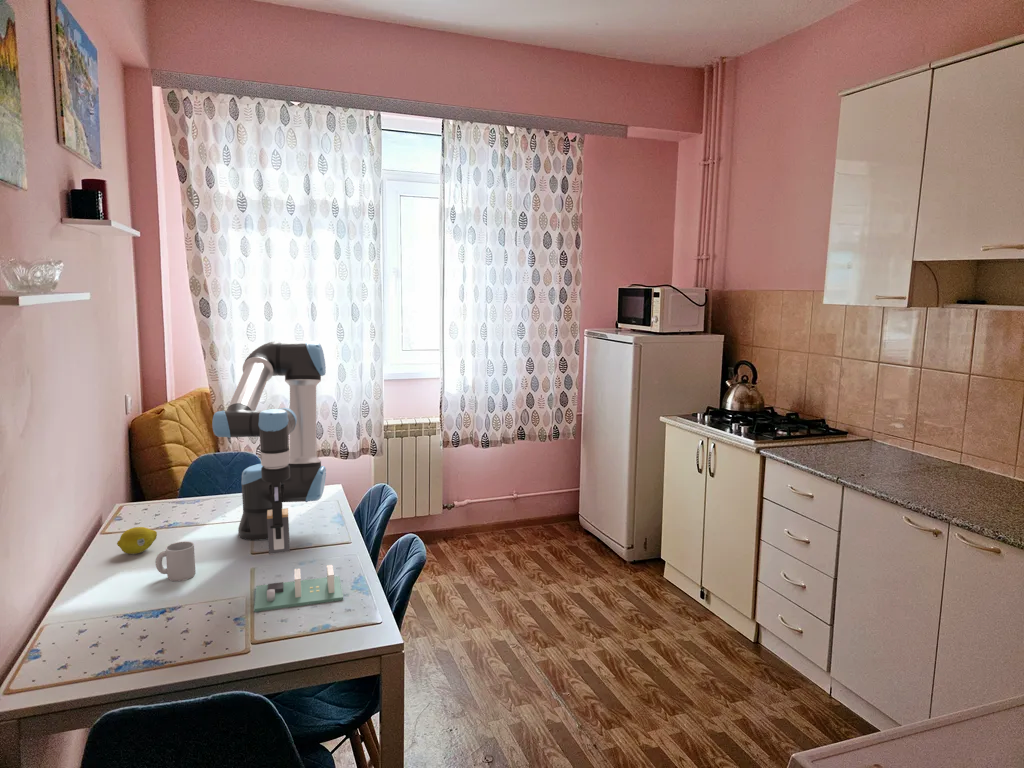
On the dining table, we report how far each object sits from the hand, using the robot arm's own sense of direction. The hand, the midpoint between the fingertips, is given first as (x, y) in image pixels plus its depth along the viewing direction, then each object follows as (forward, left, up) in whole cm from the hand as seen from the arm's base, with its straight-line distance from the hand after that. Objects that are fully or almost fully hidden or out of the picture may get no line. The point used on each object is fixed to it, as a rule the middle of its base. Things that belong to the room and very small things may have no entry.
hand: (279, 544), depth 187 cm
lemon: (-32, -42, -10) cm, 54 cm away
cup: (-9, -28, -10) cm, 31 cm away
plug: (0, 0, -1) cm, 1 cm away
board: (+13, +5, -10) cm, 17 cm away
